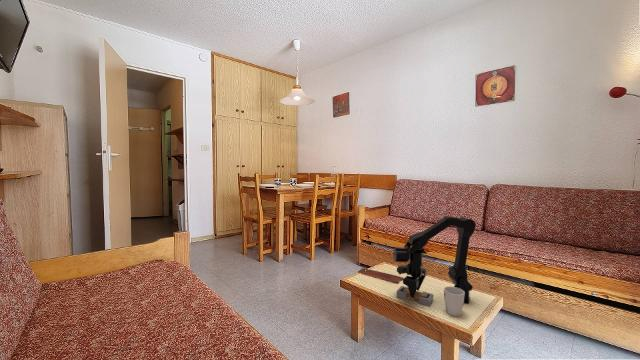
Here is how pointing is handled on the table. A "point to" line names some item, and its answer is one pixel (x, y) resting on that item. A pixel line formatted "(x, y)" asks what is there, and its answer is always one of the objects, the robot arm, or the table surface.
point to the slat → (416, 296)
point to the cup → (453, 300)
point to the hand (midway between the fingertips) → (414, 293)
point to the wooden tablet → (381, 275)
